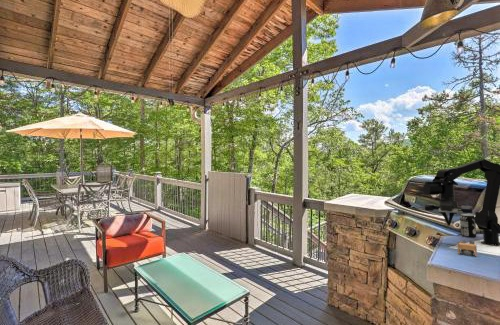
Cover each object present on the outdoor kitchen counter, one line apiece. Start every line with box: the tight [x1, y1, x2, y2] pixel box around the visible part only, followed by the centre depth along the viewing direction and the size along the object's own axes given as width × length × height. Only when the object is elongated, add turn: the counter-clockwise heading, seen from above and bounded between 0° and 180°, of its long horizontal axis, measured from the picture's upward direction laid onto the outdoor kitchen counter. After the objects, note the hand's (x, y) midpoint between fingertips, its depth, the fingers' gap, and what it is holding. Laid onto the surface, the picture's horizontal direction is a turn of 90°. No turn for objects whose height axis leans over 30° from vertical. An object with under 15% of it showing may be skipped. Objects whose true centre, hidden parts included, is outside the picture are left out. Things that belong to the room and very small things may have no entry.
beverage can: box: [459, 213, 477, 239], centre depth 146 cm, size 7×7×12 cm
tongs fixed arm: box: [461, 240, 476, 257], centre depth 124 cm, size 20×4×2 cm, turn 139°
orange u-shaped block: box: [456, 242, 478, 257], centre depth 118 cm, size 3×6×4 cm, turn 49°
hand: (448, 225), depth 132 cm, fingers closed
